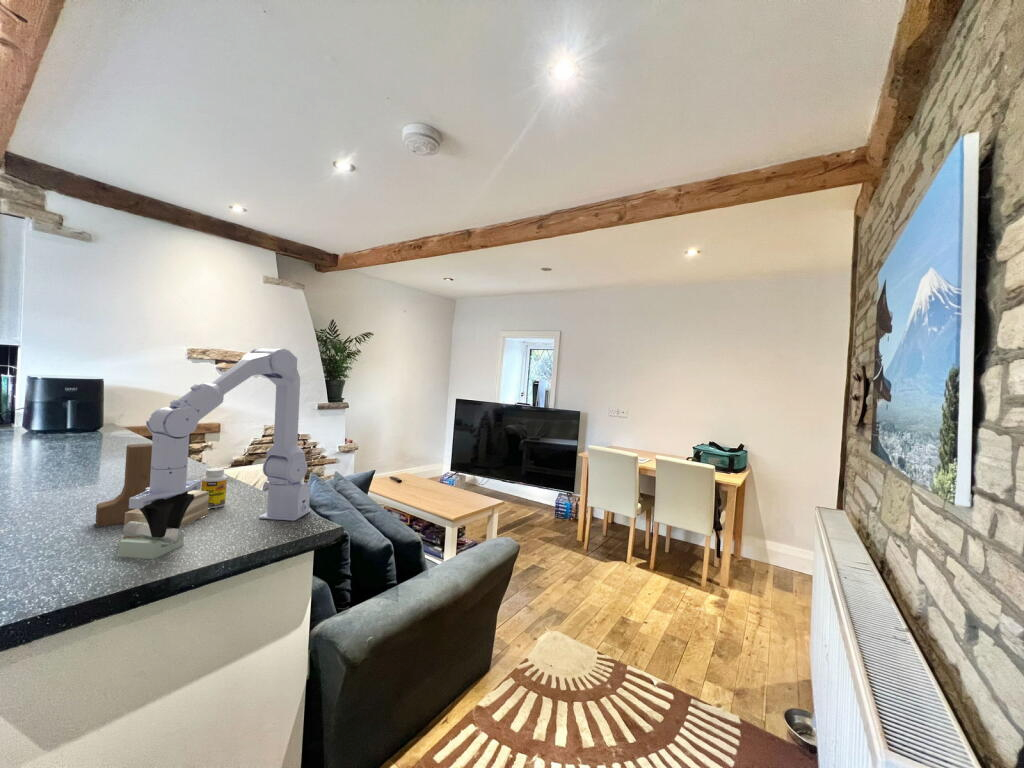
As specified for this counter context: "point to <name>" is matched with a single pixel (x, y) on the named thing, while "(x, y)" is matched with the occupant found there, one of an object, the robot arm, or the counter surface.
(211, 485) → the supplement bottle
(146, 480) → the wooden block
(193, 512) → the beam
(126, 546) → the v block
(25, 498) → the counter surface
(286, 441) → the robot arm
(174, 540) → the axle
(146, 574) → the counter surface
